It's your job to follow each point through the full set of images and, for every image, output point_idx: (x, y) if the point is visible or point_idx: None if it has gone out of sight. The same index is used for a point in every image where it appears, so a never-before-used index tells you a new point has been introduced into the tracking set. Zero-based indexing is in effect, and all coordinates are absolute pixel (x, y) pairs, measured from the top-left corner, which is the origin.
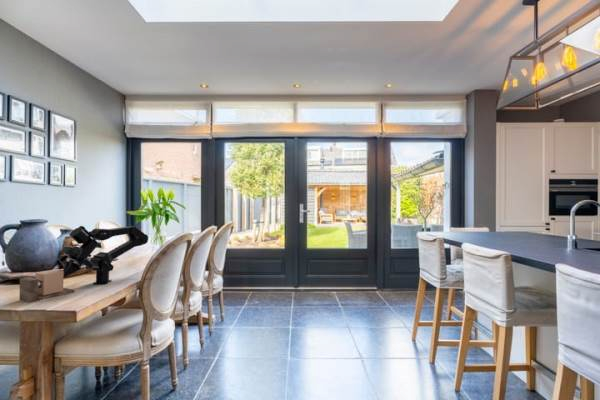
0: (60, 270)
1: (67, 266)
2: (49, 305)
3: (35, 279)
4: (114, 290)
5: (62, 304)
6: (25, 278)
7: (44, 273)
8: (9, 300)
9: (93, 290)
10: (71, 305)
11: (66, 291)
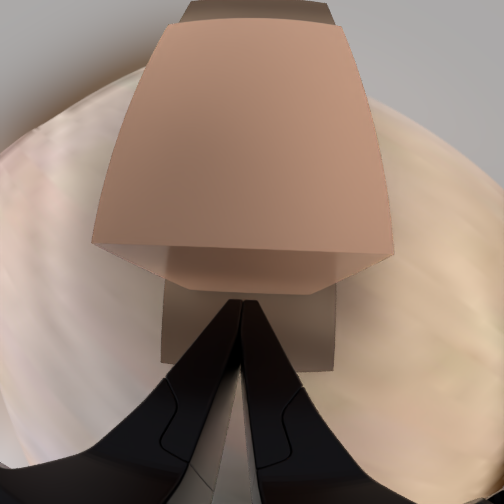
0: (167, 230)
1: (253, 479)
2: (85, 131)
3: (184, 16)
4: (28, 441)
5: (48, 167)
6: (296, 7)
7: (204, 33)
8: None
9: (101, 429)
10: (16, 181)
11: (173, 305)
